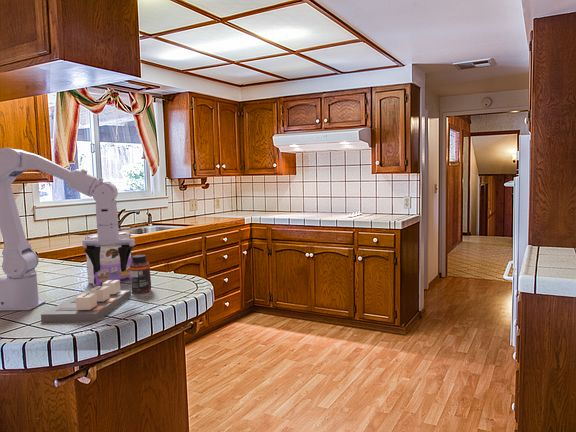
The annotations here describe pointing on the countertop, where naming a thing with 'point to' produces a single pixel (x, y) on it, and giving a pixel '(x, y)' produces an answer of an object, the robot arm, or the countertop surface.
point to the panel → (70, 314)
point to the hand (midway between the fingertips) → (110, 271)
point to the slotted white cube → (86, 301)
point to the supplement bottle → (140, 274)
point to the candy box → (108, 263)
